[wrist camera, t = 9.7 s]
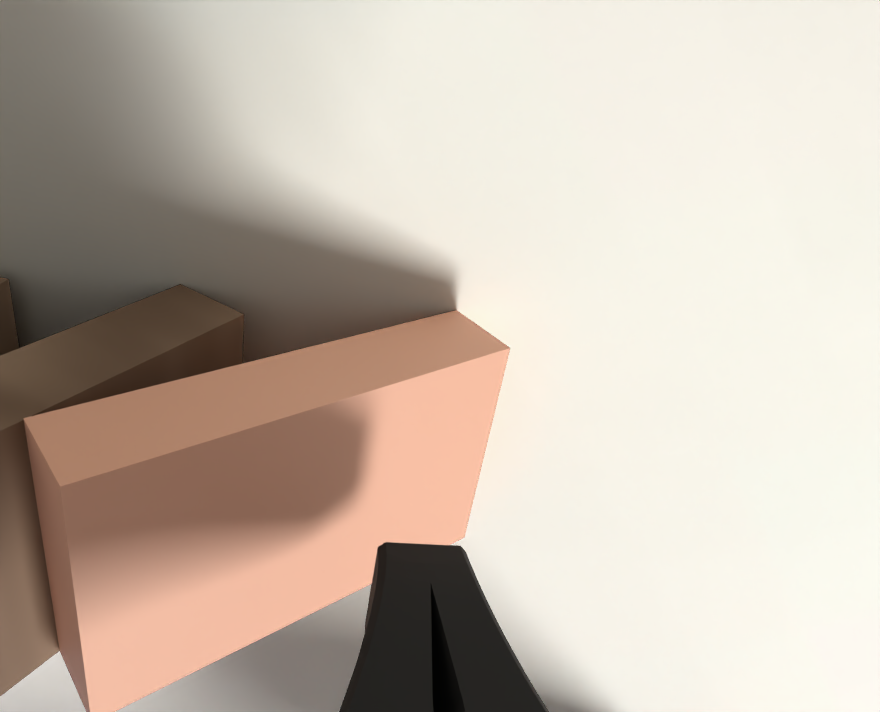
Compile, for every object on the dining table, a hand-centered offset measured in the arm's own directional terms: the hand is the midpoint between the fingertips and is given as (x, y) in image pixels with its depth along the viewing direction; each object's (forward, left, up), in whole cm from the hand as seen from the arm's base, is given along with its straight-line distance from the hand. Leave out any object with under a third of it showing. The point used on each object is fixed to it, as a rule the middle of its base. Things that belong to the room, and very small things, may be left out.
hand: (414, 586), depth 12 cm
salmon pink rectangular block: (+1, -1, -4) cm, 4 cm away
